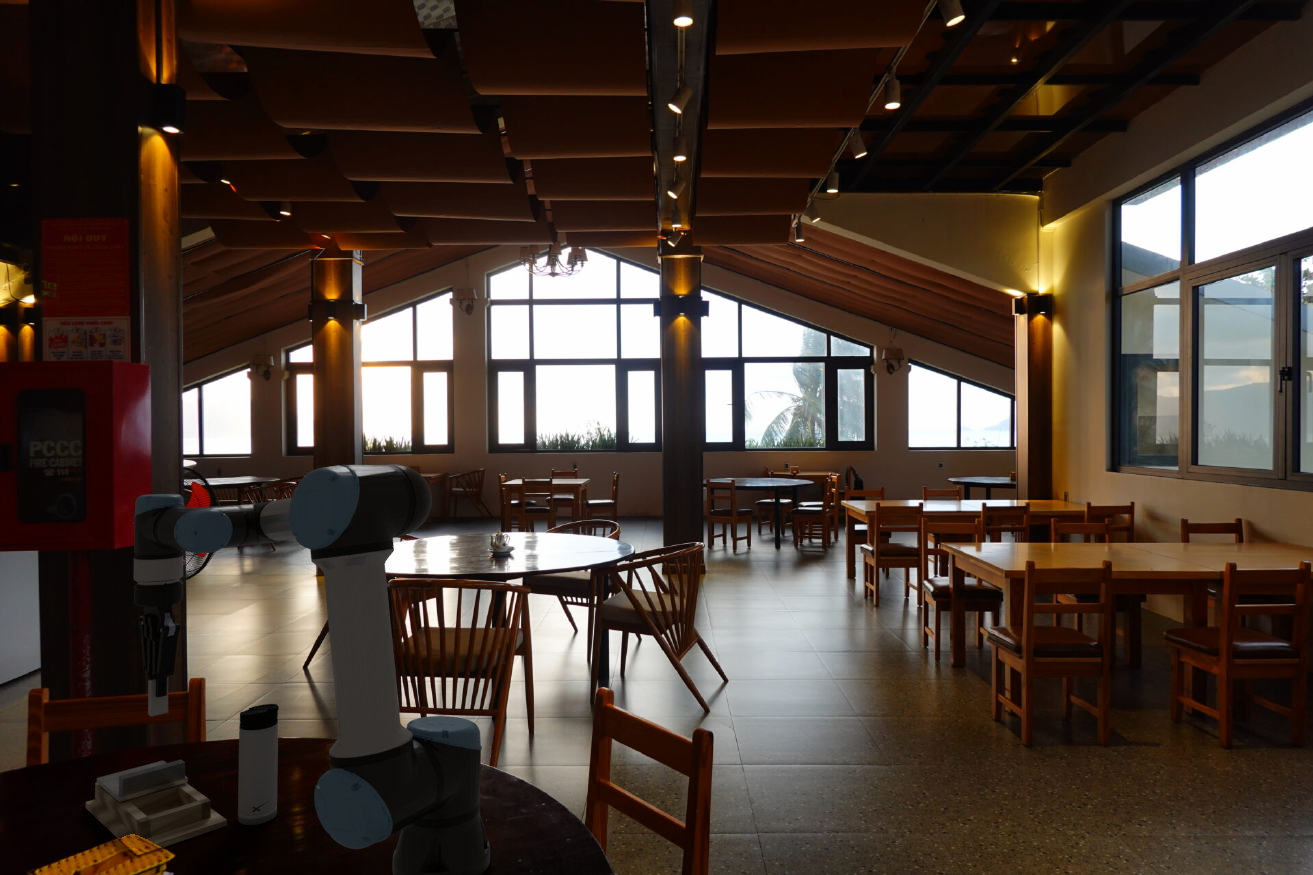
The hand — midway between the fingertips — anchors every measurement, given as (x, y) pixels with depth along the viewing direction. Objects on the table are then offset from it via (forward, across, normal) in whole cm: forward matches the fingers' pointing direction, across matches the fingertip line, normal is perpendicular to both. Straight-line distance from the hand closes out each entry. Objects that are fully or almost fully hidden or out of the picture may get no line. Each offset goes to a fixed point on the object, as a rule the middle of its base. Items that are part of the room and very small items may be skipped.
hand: (158, 713), depth 146 cm
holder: (+19, +1, 0) cm, 19 cm away
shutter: (+14, +7, 0) cm, 16 cm away
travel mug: (+19, -13, -12) cm, 26 cm away
